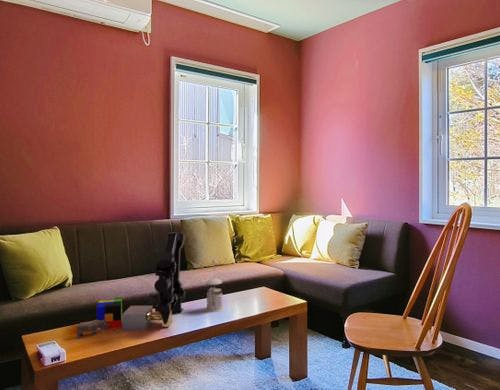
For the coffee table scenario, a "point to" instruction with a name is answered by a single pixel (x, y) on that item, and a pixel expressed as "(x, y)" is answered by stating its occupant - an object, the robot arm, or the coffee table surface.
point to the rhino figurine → (91, 327)
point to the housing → (136, 318)
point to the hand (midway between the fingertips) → (166, 321)
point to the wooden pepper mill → (159, 317)
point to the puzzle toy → (110, 312)
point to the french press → (214, 295)
